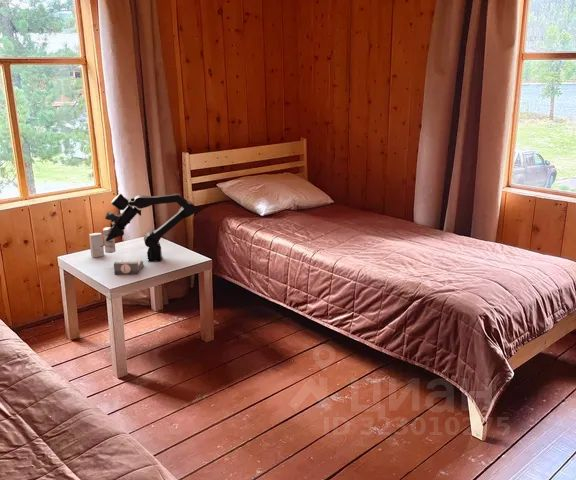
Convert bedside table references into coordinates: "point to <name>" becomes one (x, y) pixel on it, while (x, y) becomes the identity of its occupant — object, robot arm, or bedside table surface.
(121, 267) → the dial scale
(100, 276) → the bedside table surface
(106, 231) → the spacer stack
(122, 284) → the bedside table surface
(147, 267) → the bedside table surface
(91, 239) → the skincare box
